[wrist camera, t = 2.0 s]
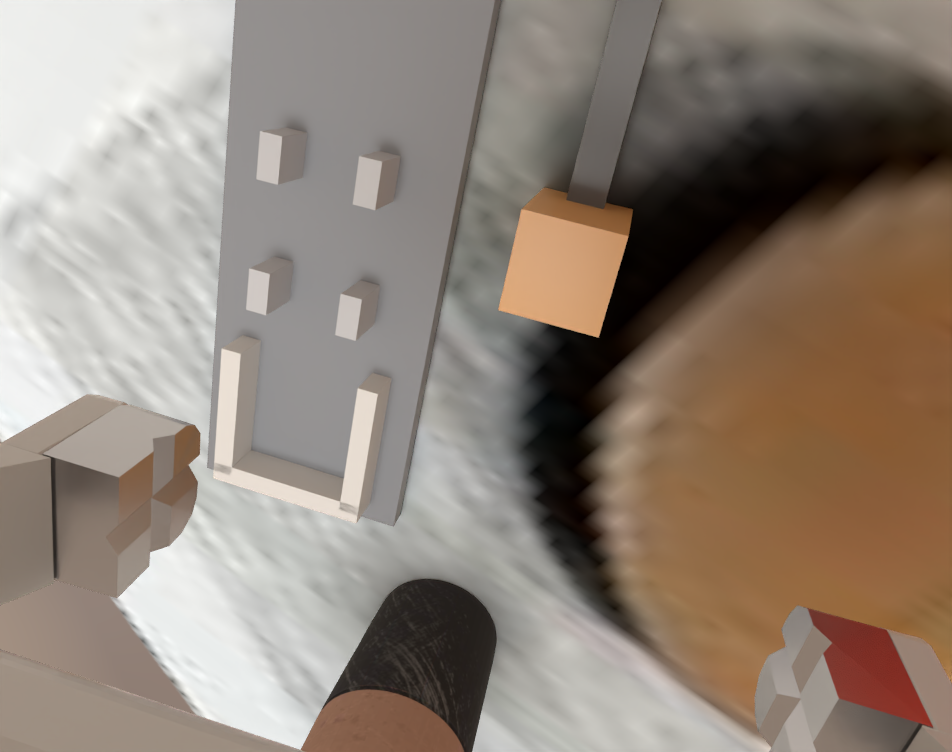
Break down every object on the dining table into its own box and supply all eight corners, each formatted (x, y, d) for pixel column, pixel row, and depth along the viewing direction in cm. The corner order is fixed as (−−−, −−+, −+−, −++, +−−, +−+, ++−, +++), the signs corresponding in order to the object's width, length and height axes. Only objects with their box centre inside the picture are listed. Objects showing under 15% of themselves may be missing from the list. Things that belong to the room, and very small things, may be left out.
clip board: (513, -61, 29) (495, -78, 26) (400, 514, 40) (378, 552, 37) (257, -114, 30) (210, -137, 27) (218, 457, 42) (182, 489, 39)
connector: (607, 295, 33) (598, 337, 28) (523, 273, 34) (498, 310, 28) (737, -145, 26) (758, -203, 21) (628, -165, 27) (622, -226, 22)
